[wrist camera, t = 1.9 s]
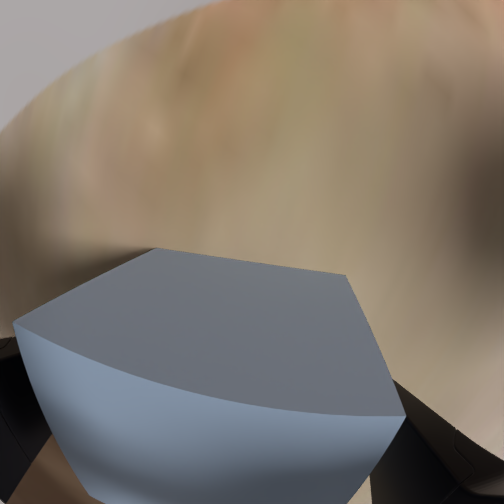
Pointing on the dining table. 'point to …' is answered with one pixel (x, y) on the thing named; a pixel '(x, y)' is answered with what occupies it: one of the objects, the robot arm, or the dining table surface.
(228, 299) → the letter cube
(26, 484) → the wooden l bracket
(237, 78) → the dining table surface
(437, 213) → the dining table surface
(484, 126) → the dining table surface
